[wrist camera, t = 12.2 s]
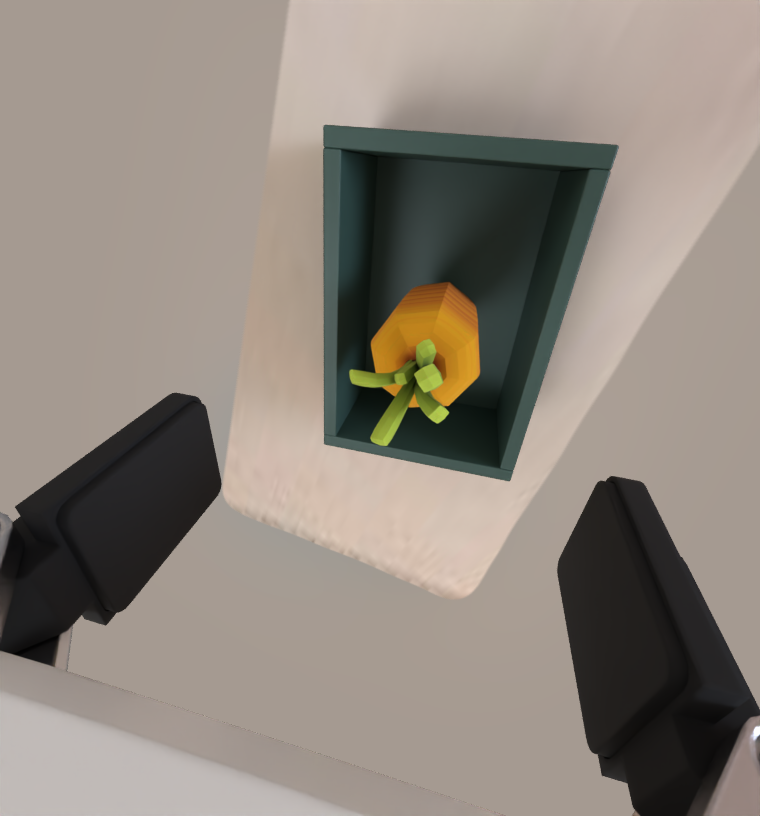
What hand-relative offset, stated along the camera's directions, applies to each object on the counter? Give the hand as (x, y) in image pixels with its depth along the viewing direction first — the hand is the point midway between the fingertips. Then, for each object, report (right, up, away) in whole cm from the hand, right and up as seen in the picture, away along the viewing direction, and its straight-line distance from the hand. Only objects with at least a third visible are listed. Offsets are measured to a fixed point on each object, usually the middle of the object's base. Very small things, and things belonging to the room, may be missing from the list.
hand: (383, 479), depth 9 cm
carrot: (+4, +9, +16) cm, 19 cm away
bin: (+4, +9, +17) cm, 19 cm away
